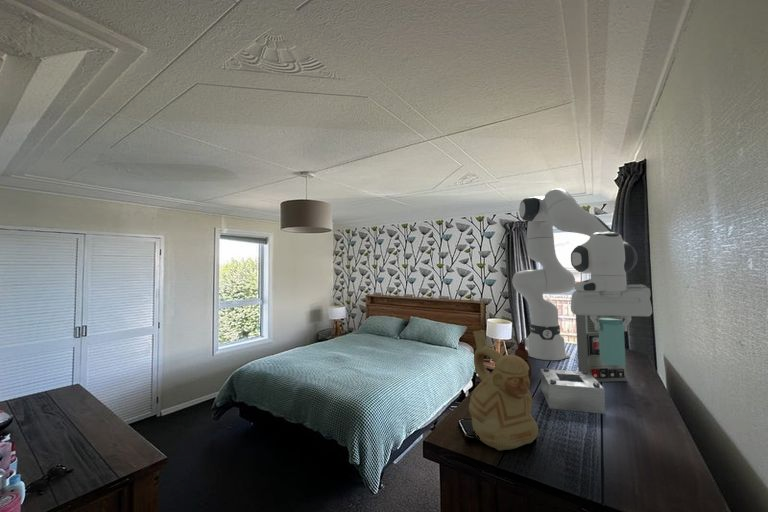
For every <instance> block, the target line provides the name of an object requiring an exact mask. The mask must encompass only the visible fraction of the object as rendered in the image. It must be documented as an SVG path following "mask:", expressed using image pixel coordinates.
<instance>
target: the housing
mask: <svg viewBox="0 0 768 512" xmlns="http://www.w3.org/2000/svg"><path fill="white" fill-rule="evenodd" d="M540 384H541V392H542V393H543V396H544V398H545V401H546V403H547V406H548V407H549V409H551V410H559V411H560V410H563V411H573V412H581V413H592V414H601V415H606V414H607V413H606V395H605V394H606V392H605V388H604V387H603V386H602V384H601V382H598V381H597V380H596V379H595V378H594V377H593V376H592V375H591V374H590V373H589V372H588V371H585V370H582V371H578V370H568V369H567V370H564V369H553V368H552V369H550V368H549V367H544V368H540Z"/></svg>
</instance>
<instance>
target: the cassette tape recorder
mask: <svg viewBox="0 0 768 512" xmlns="http://www.w3.org/2000/svg"><path fill="white" fill-rule="evenodd" d="M600 318H612V319H620V320H623V321H624V319H623V316H598V315H597V319H595V320H596V321H597V323H598V319H600ZM575 326H576V331H575V332H576V348H577V349H576V350H577V368H578V369H577V371H582V370H585V371H588V372H589V373H590V374H591V375H592V376H593V377H594V378H595V379H596V380H597V381H598V382H599V383H602V382H603V383H605V382H607V383H609V382H627V381H629V379H628V377H627V375H626V374H627V373H626V366H621V365H606V364H604V363H603V362H602V361H601V360H600V350H599V330H595V324H594V323H593V321H592V320H591V319H590V315H575Z"/></svg>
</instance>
